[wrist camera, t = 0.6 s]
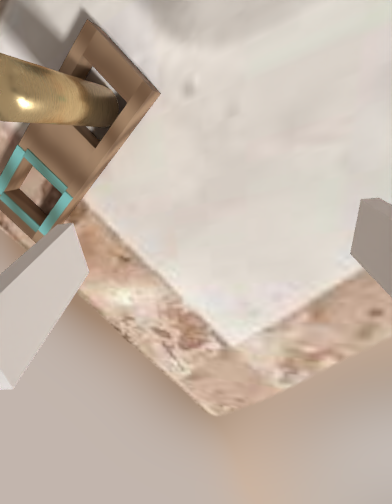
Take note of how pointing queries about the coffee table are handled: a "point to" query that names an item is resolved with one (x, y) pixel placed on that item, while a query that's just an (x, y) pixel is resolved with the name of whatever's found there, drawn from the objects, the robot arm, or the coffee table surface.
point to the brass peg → (52, 96)
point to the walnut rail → (74, 137)
